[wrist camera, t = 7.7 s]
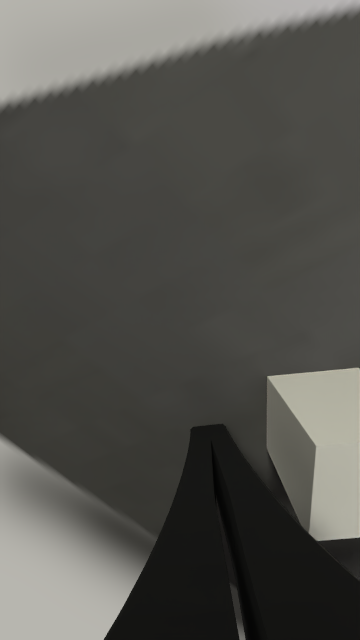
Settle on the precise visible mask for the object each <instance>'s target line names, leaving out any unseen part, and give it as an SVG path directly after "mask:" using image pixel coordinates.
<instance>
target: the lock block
mask: <svg viewBox="0 0 360 640" xmlns="http://www.w3.org/2000/svg"><path fill="white" fill-rule="evenodd" d="M267 450H268V453H269V455H270V457H271V459H272V462H273V464H274V466H275V468H276V470H277V473H278V475H279V477H280V479H281V482H282V484H283V486H284V488H285V491H286V493H287V495H288V497H289V499H290V502H291V504H292V506H293V508H294V511H295V513H296V515H297V517H298V520H299V522H300V524H301V526H302V527H303V528H304V529H305V530H306V531H307V532H308V533H309V534H310V535H311V536H312V537H313V538H314V539H315V540H316V541H323V540H335V539H347V538H359V537H360V369H359V368H351V369H341V370H330V371H319V372H309V373H298V374H288V375H277V376H267Z"/></svg>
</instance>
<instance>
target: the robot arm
mask: <svg viewBox="0 0 360 640" xmlns="http://www.w3.org/2000/svg"><path fill="white" fill-rule="evenodd" d="M215 493H216V494H215ZM216 497H217V501H218V506H219V510H220V514H221V518H222V522H223V527H224V531H225V535H226V539H227V543H228V548H229V552H230V556H231V560H232V565H233V569H234V574H235V579H236V585H237V590H238V596H239V602H240V608H241V613H242V620H243V626H244V632H245V638H246V640H360V580H358V579H357V578H356V577H355V576H354V575H353V574H352V573H351V572H349V571H348V570H347V569H346V568H345V567H344V566H343V565H342V564H341V563H340V562H339V561H338V560H336V559H335V558H334V557H333V556H332V555H331V554H330V553H329V552H328V551H327V550H326V549H325V548H324V547H323V546H322V545H321V544H320V543H319V542H318V541H316V540H315V539H314V538H313V537H312V536H311V535H310V534H309V533H308V532H307V531H306V530H305V529H304V528H303V527H302V526H301V525H300V523H299V522H298V521H297V520H296V519H295V518H294V517H293V516H292V515H291V514H290V513H289V512H288V511H287V510H286V509H285V507H284V506H283V505H282V504H281V503H280V502H279V501H278V500H277V498H276V497H275V496H274V495H273V494H272V493H271V491H270V490H269V489H268V488H267V487H266V485H265V484H264V483H263V482H262V480H261V479H260V478H259V477H258V475H257V474H256V473H255V471H254V470H253V469H252V467H251V466H250V465H249V463H248V462H247V460H246V459H245V458H244V456H243V455H242V453H241V452H240V450H239V449H238V447H237V446H236V444H235V443H234V441H233V439H232V438H231V436H230V434H229V432H228V431H227V429H226V426H224V425H223V424H218V425H208V426H198V427H193V428H192V429H191V434H190V443H189V449H188V453H187V458H186V462H185V465H184V469H183V473H182V476H181V480H180V483H179V486H178V489H177V492H176V495H175V498H174V500H173V503H172V506H171V508H170V511H169V514H168V516H167V518H166V521H165V523H164V526H163V528H162V530H161V533H160V535H159V537H158V539H157V541H156V544H155V546H154V548H153V550H152V552H151V554H150V556H149V559H148V561H147V563H146V565H145V567H144V568H143V571H142V572H141V574H140V576H139V578H138V580H137V582H136V584H135V585H134V588H133V589H132V591H131V593H130V595H129V597H128V599H127V601H126V602H125V604H124V606H123V608H122V610H121V611H120V613H119V615H118V617H117V618H116V620H115V622H114V623H113V625H112V627H111V628H110V630H109V632H108V633H107V635H106V637H105V638H104V640H239V634H238V629H237V623H236V618H235V613H234V607H233V601H232V596H231V590H230V584H229V579H228V573H227V567H226V562H225V556H224V550H223V544H222V538H221V533H220V527H219V521H218V515H217V508H216Z"/></svg>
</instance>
